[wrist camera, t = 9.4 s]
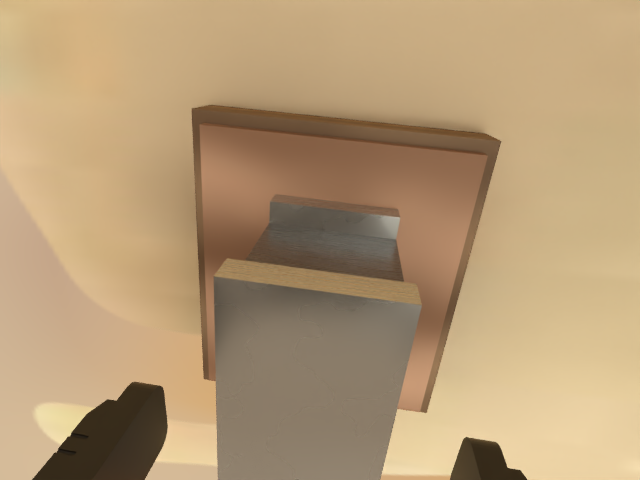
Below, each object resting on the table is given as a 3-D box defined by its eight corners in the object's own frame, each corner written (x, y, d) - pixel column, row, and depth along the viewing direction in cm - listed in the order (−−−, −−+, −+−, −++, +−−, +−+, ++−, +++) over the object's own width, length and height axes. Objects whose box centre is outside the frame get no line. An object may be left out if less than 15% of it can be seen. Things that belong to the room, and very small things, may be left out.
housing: (268, 349, 19) (218, 490, 12) (275, 193, 16) (213, 276, 9) (369, 364, 19) (371, 516, 12) (398, 209, 15) (421, 305, 9)
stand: (210, 105, 17) (186, 109, 15) (485, 133, 16) (505, 143, 14) (216, 354, 23) (200, 385, 20) (421, 384, 22) (427, 420, 20)
